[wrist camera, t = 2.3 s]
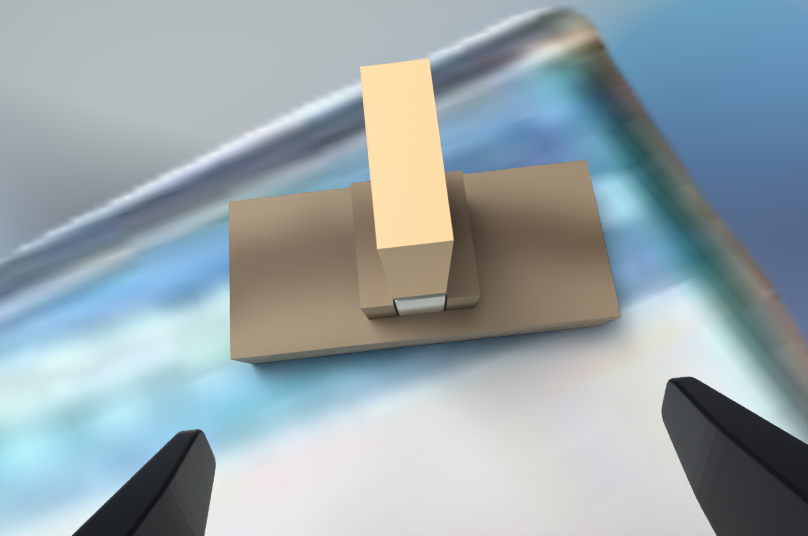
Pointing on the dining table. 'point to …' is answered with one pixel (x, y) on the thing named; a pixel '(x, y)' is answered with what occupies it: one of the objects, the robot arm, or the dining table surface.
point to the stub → (407, 178)
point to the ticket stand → (425, 316)
